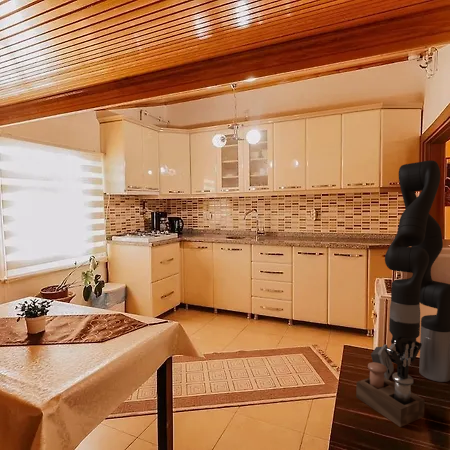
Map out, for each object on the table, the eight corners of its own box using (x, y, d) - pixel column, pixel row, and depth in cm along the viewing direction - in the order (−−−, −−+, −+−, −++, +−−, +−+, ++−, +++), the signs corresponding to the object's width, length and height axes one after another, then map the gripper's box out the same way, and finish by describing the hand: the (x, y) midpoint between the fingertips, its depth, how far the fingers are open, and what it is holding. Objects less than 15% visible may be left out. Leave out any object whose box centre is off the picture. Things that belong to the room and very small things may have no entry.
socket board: (378, 389, 105) (379, 374, 105) (424, 416, 92) (424, 399, 91) (356, 397, 101) (356, 381, 101) (400, 427, 87) (400, 409, 87)
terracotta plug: (375, 384, 103) (375, 361, 103) (389, 392, 99) (390, 368, 98) (363, 388, 101) (364, 364, 101) (377, 397, 96) (378, 372, 96)
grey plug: (399, 395, 96) (400, 371, 95) (416, 405, 91) (417, 379, 90) (387, 400, 93) (388, 375, 93) (404, 410, 89) (405, 384, 88)
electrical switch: (388, 381, 110) (385, 354, 110) (372, 377, 113) (369, 351, 113) (394, 370, 117) (392, 344, 117) (378, 367, 121) (376, 342, 121)
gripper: (407, 310, 97) (405, 366, 98) (376, 316, 91) (374, 376, 92) (432, 318, 90) (430, 378, 91) (401, 325, 84) (398, 389, 86)
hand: (402, 377), depth 92 cm, fingers closed
